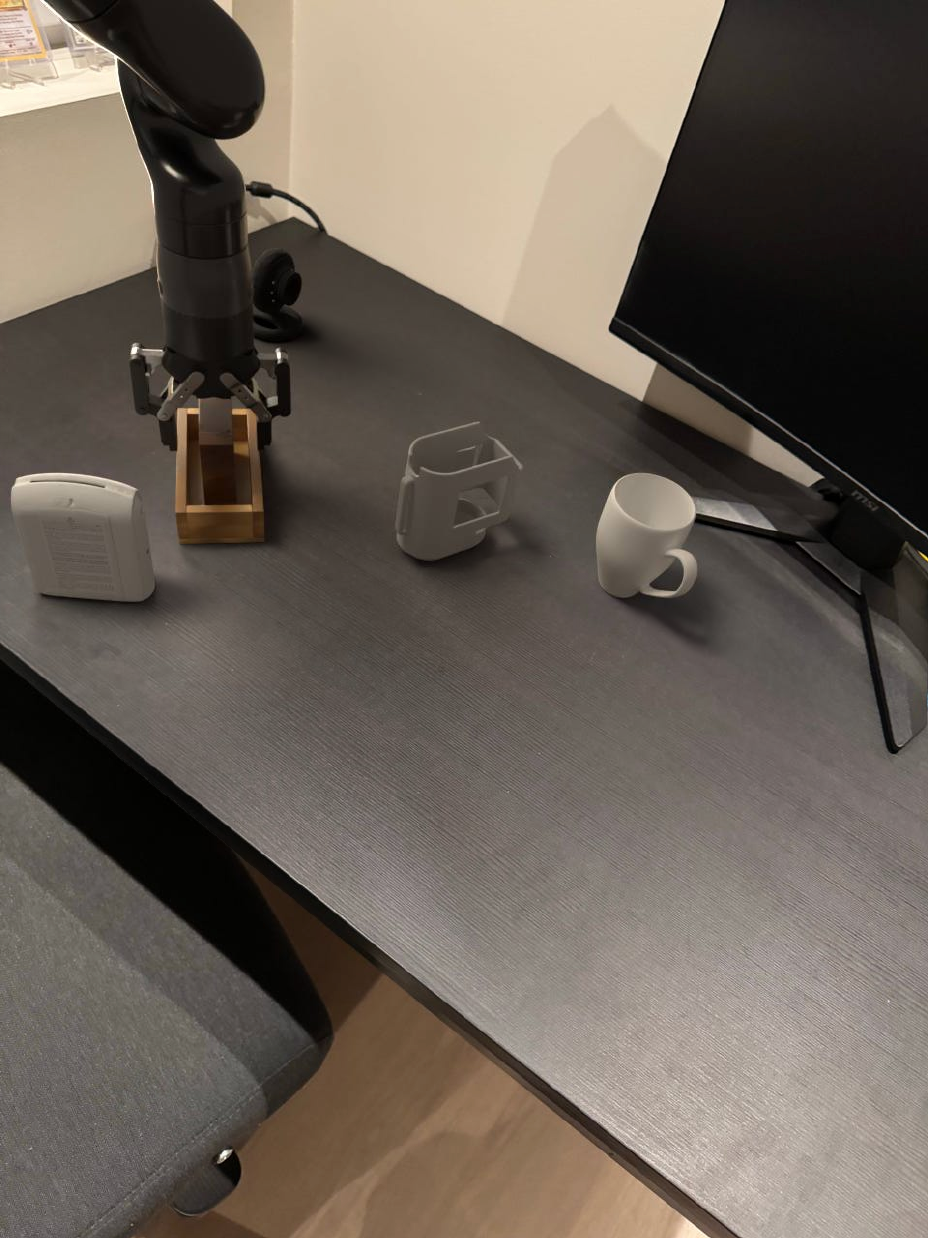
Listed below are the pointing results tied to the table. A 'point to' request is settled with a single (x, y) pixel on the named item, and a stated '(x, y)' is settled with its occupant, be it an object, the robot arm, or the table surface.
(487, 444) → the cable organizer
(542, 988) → the table surface
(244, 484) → the holder
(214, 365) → the robot arm
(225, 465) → the brown wooden box
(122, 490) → the photo printer
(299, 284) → the webcam
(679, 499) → the mug
